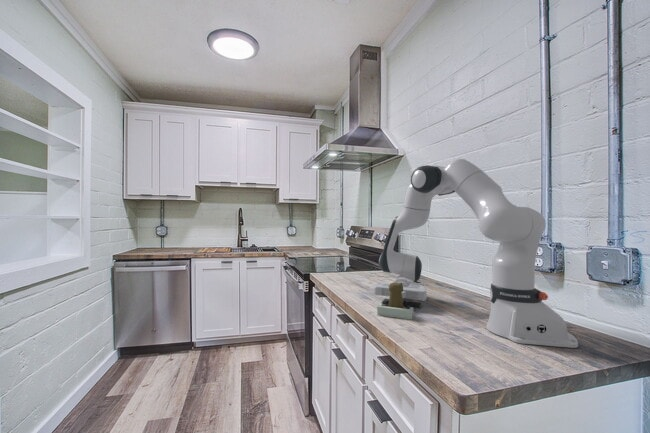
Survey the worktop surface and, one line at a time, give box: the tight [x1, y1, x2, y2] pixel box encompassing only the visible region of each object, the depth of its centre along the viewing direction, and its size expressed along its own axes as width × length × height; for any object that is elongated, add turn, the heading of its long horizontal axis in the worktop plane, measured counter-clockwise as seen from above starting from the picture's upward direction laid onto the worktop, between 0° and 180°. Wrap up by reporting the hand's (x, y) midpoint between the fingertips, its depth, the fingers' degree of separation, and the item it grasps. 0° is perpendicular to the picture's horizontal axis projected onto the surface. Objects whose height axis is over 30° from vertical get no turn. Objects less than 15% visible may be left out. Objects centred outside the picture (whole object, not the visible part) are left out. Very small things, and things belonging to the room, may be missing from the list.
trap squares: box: [381, 298, 422, 309], centre depth 119 cm, size 15×7×1 cm, turn 67°
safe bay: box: [376, 302, 414, 321], centre depth 105 cm, size 12×4×3 cm, turn 67°
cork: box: [387, 282, 405, 309], centre depth 107 cm, size 6×6×11 cm
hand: (397, 296), depth 109 cm, fingers closed, pressing on cork
